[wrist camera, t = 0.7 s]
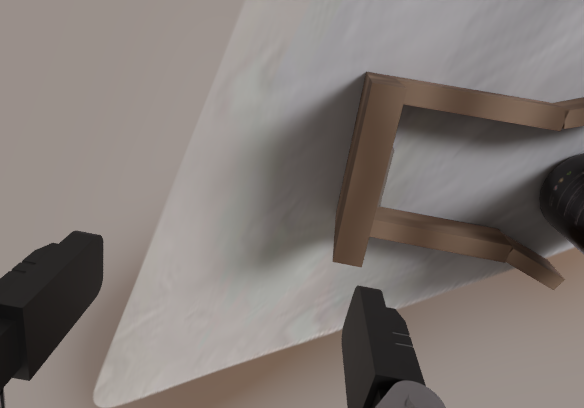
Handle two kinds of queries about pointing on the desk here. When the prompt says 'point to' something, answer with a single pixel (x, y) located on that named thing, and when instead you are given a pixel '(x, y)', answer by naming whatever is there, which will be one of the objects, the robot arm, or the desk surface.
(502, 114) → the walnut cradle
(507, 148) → the desk surface
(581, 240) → the supplement bottle
